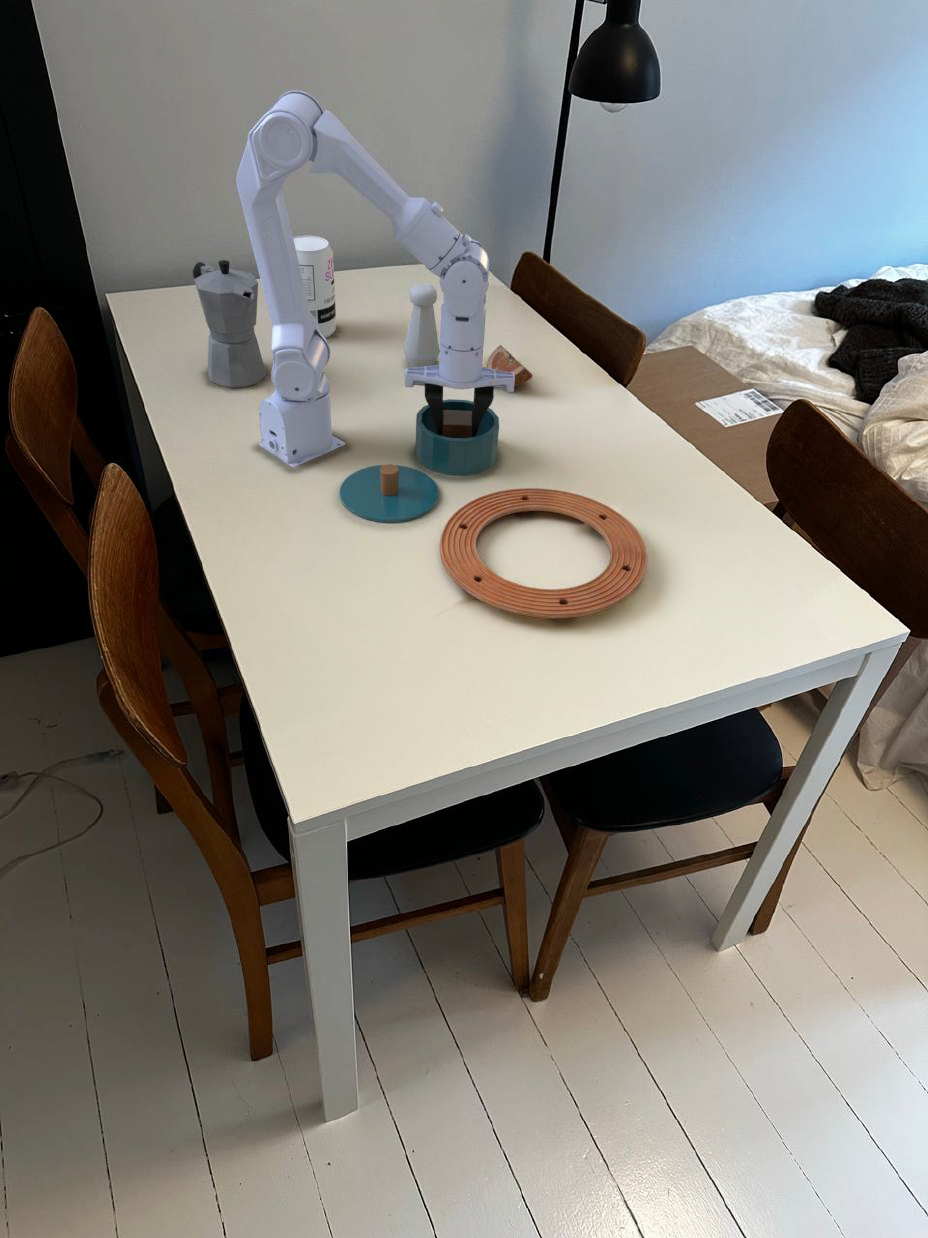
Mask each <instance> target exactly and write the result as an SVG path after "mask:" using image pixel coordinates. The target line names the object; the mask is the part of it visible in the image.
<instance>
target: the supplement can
mask: <svg viewBox="0 0 928 1238" xmlns="http://www.w3.org/2000/svg"><path fill="white" fill-rule="evenodd" d="M293 239H294V244H295V248H296V253H297V257H298V261H299V266H300V270H301V275H302V279H303V284H304V288H305V293H306V297H307V302H308V306H309V310H310V313H311V314H312V315H313V316H314V317H315V318H316V320H317V324H318V328H319V330H320V332H321V334H322V335H323V336H324V337H325V339H327V338H329V337H330V336H332V334H333V333H335V332H336V329H337V313H336V312H337V311H336V289H335V286H336V285H335V264H334V251H333V250H332V247H331V246H330V242H329V241H328V240H327V239H325V238H324V237H321V236H316V235H296V236H293Z"/></svg>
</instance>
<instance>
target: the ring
mask: <svg viewBox="0 0 928 1238" xmlns="http://www.w3.org/2000/svg"><path fill="white" fill-rule="evenodd" d="M532 511H533V512H534V511H535V512H541V511H542V512H549V513H556V514H561V515H564V516H568V517H571V518H574V519H576V520H578V521H580V522H583V523H585V524H586V525H588V526H589V527H591V528H592V529H594V531H595V532H596V533H598V534H599V535H600V536H601V537H602V538H603V539H604V541H605V543H606V545H607V547H608V551H609V561H608V564H607V566H606V567H605V569H604V570H603V571H602V572H601V573H600V574H599V575H598V576H596V577H595V578H593V579H592V580H589V581H588V582H585V583H582V584H579V585H575V586H572V587H566V588H552V589H551V588H549V589H548V588H537V587H531V586H526V585H522V584H519V583H517V582H513V581H510V580H508V579H506V578H504V577H502V576H500V575H499V574H497V573H496V572H494V571H493V570H491V569H490V568H489V567H488V566H487V565H486V564H485V563H484V561H483V560H482V559H481V557H480V555H479V551H478V550H477V540H478V537H479V535H480V534H481V532H482V531H483V530H484V529H485V527H487V526H488V525H489V524H491V523H492V522H494V521H495V520H498V519H499V518H502V517H504V516H507V515H510V514H516V513H529V512H532ZM439 554H440V559H441V562H442V565H443V567H444V569H445V571H446V573H447V574H448V576H449V577H450V578H451V579H452V580H453V582H454V583H455V584H457V586H458V587H460V588H461V589H462V590H463V591H465V592H466V593H467V594H468V595H470V596H472V597H473V598H475V599H477V600H479V601H481V602H482V603H485V604H487V605H488V606H491V607H494V608H496V609H500V610H501V611H502V610H503V611H505V612H509V613H513V614H516V615H522V616H526V617H532V618H533V617H534V618H541V619H558V620H565V619H569V618H577V617H584V616H589V615H594V614H596V613H601V612H604V611H606V610H608V609H610V608H612V607H615V606H616V605H618V604H620V603H621V602H623V601H625V600H626V599H627V598H628V597H629V596H631V595H632V594H633V593H634V592H635V590H636V589H637V588H638V587H639V585H640V583H641V582H642V581H643V578H644V575H645V573H646V570H647V566H648V552H647V547H646V545H645V542H644V539H643V537H642V536H641V534H640V533H639V530H638V529H636V527H635V526H634V525H633V524H632V523H631V522H630V521H629V520H628V519H627V518H626V517H625V516H623V515H622V514H621V513H619V512H618V511H616V510H615V509H613V508H612V507H610V506H608V505H607V504H604V503H603V502H600V501H597V500H595V499H592V498H590V497H588V496H584V495H582V494H581V495H580V494H577V493H573V492H569V491H563V490H559V489H552V488H539V487H538V488H537V487H525V488H524V487H523V488H512V489H505V490H499V491H495V492H491V493H488V494H484V495H482V496H479V497H477V498H475V499H473V500H471V501H469V502H467V503H465V504H464V505H463V506H461V507H460V508H459V509H457V510H456V511H455V512H454V513H453V514H452V515H451V517H449V519H448V520H447V521H446V523H445V525H444V528H443V529H442V532H441V535H440V539H439Z"/></svg>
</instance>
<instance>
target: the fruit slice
mask: <svg viewBox="0 0 928 1238" xmlns="http://www.w3.org/2000/svg"><path fill="white" fill-rule="evenodd" d="M486 368H490V369H495V370H499V371H505V372H514V376H515V383H514V387H516V386H517V387H518V386H520V385H523V384H526V383H527V382H529V381H530V380H531V379H532V378H533V373H532V372H530V371H529V370H528V369H527V367H525V365H524V364H522V363H521V362H519V360H517V359H516V358H515V357H514V356H513V354H512V353H510V351H508V349H506V348H505V347H504V346H503V345H501V344H499V345H498V346H497V347H496V348H495V349H494V350H493V351H492V352H491V354H490V356H489V358H487V362H486Z"/></svg>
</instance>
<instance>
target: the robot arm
mask: <svg viewBox="0 0 928 1238" xmlns="http://www.w3.org/2000/svg"><path fill="white" fill-rule="evenodd" d="M309 161H310V162H312V164H311V167H310V171H309V172H310V174H311V173H312V174H328V175H329V174H333V175H339V176H340V177H341V178H342V179H343V180H345V181H346V182H347V183H348V184H349V185H350V186H351V187H352V188H354V189H355V190H357V192H359V193H360V194H361V195H362V196H363V197H364V199H366V200H367V201H369V202H370V203H371V204H372V205H373V206H375V208H377V209H378V210H379V211H380V212H382V213H383V214H384V215H385V216H386V217H387V218H388V219H390V221H391V225H392V235H393V237H394V238H395V239H396V240H397V242H399V243H400V244H401V245H402V246H403V247H404V248H405V249H406V250H407V251H408V252H409V253H410V254H411V255H412V256H413V257H414V258H416V259H417V260H418V261H419V262H420V264H422V265H423V266H424V267H425V268H426V269H427V270H428V272H430V273H432V274H433V275H435V276H437V277H438V278H439V287H440V289H441V292H442V294H443V298H442V299H443V300H442V301H443V302H442V304H441V307H440V326H439V327H440V328H439V330H440V332H439V350H440V352H439V356H438V358H439V359H438V360H439V361H438V364H434V366H426V367H416V368H412V367H405V374H404V375H405V376H404V377H405V378H404V379H405V380H404V382H405V383H404V386H405V387H404V388H414V386H422V387H424V398H425V402H426V404H427V405H429V407H430V409H431V411H432V413H433V416H434V419H435V422H436V426H437V432H438V435H441V436H442V435H443V400H444V387H445V388H450V389H454V390H469V389H473V402H474V405H473V414H472V437H476V434H477V430H478V427H479V425H480V422H481V420H482V418H483V416H484V414H485V412H486V411H487V409H488V408H490V407H491V405H492V403H493V401H494V398H495V395H494V392H495V391H494V390H504V391H505V392H506V393H514V392H515V386H514V383H515V376H514V372H505V371H499V370H495V369H490V368H487V367H485V366H483V361H484V344H485V334H486V333H485V331H486V318H487V317H486V316H487V307H486V303H487V291H488V289H489V285H490V282H489V273H490V259H489V255H488V253H487V251H486V249H484V247H483V245H482V243H481V242H480V241H478V240H476V239H472V237H470V236H469V235H468V234H467V233H464V234H462V233H461V232H460V231H459V230H458V229H457V228H456V227H455V226H454V225H453V224H452V223H451V222H450V221H449V220H448V219H447V218H446V217H445V216H444V215H443V210H444V208H443V206H442V205H440V203H438V202H437V201H434V202H433V203H431V202H430V201H428V200H427V198H426V197H413V196H409V195H408V194H407V193H406V192H405V191H404V190H403V189H402V187H400V186H399V185H398V183H397V182H396V181H395V180H394V179H393V178H392V177H391V176H390V174H389V173H388V172H387V171H386V170H385V169H384V168H383V167H382V166H381V164H379V163H378V162H377V161H376V159H374V158H373V156H372V155H371V154H370V153H369V152H368V151H367V150H366V149H365V148H364V146H363V145H362V144H360V143H359V141H358V140H357V139H356V138H355V137H354V136H353V135H352V134H351V133H350V132H349V131H348V128H346V127H345V125H344V124H343V123H342V122H341V121H340V119H339V118H338V117H337V116H336V115H335V114H333V113H332V112H331V111H329V110H328V109H325V110H324V109H323V107H322V105H321V104H320V102H319V101H318V100H317V98H315V97H314V96H313V95H312V94H310V93H308V92H305V91H303V90H297V89H295V90H289V91H286V92H284V93H282V95H280V96H279V97H278V99H276V101H275V102H274V103H273V105H271V106H270V108H269V109H268V110H267V112H266V113H265V114H263V115H262V117H260V118H259V120H258V121H257V122H256V123H255V124H254V126H253V127H252V129H250V131H249V132H248V134H247V142H246V145H245V148H244V151H243V154H242V158H241V161H240V163H239V167H238V170H237V173H236V177H235V182H236V189H237V192H238V196H239V201H240V204H241V208H242V212H243V215H244V220H245V223H246V227H247V231H248V236H249V239H250V243H251V247H252V251H253V255H254V260H255V263H256V267H257V271H258V275H259V279H260V284H261V287H262V290H263V295H264V298H265V302H266V306H267V311H268V314H269V315H268V316H269V318H270V322H271V344H270V347H271V348H270V349H271V355H272V359H273V361H272V362H273V364H272V368H271V371H270V377H271V378H270V379H271V382H272V385H273V387H274V389H275V390H274V392H272V393H271V395H270V396H268V397H266V398H265V399H264V400H262V401H261V402H260V404H259V406H258V415H259V426H260V436H261V442H260V443H259V446H260V447H262V448H263V449H264V450H266V451H267V452H269V453H270V454H272V455H273V456H274V457H276V458H278V459H280V460H281V461H282V462H284V463H285V464H287V465H288V466H290V467H293V468H294V467H298V466H299V465H300V466H301V465H302V464H305V463H306V462H309V461H311V460H313V459H316V458H318V457H320V456H323V455H325V454H328V453H329V452H332V451H335V450H336V449H338V448H340V447H343V446H345V445H346V442H344V441H343V440H341V439H339V438H338V437H336V436H334V435H333V432H332V431H333V430H332V429H333V428H332V411H331V410H332V409H331V388H330V387H331V385H330V381H329V379H328V378H327V376H326V374H325V368H326V366H327V364H328V363H329V360H330V357H331V348H330V345H329V342H328V340H327V338H325V337H324V336H323V335H322V334H321V332H320V330H319V328H318V324H317V320H316V318H315V317H314V316H313V315H312V314H311V313H310V310H309V306H308V302H307V297H306V293H305V288H304V284H303V279H302V275H301V270H300V266H299V261H298V257H297V253H296V248H295V244H294V239H293V237H294V235H293V230H292V227H291V221H290V217H289V213H288V208H287V204H286V200H285V195H284V190H283V185H284V184H285V182H286V181H287V179H288V178H289V177H290V175H293V174H294V173H296V172H298V170H300V169H302V168H303V167H304V166H306V164H307V163H308V162H309Z"/></svg>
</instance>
